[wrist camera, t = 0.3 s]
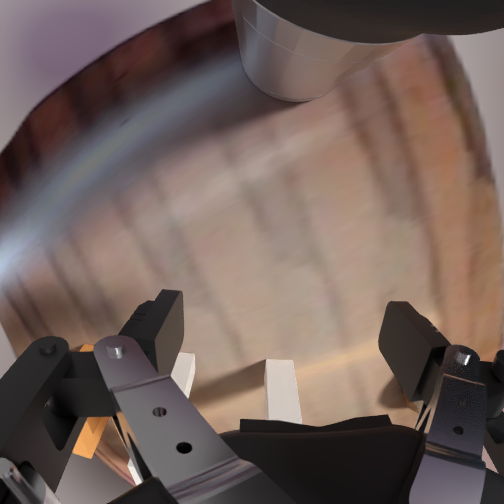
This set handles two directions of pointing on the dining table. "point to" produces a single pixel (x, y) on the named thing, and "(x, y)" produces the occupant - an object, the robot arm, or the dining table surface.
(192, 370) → the white square table frame
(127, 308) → the dining table surface
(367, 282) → the dining table surface
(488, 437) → the robot arm
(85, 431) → the orange arch block
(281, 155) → the dining table surface
